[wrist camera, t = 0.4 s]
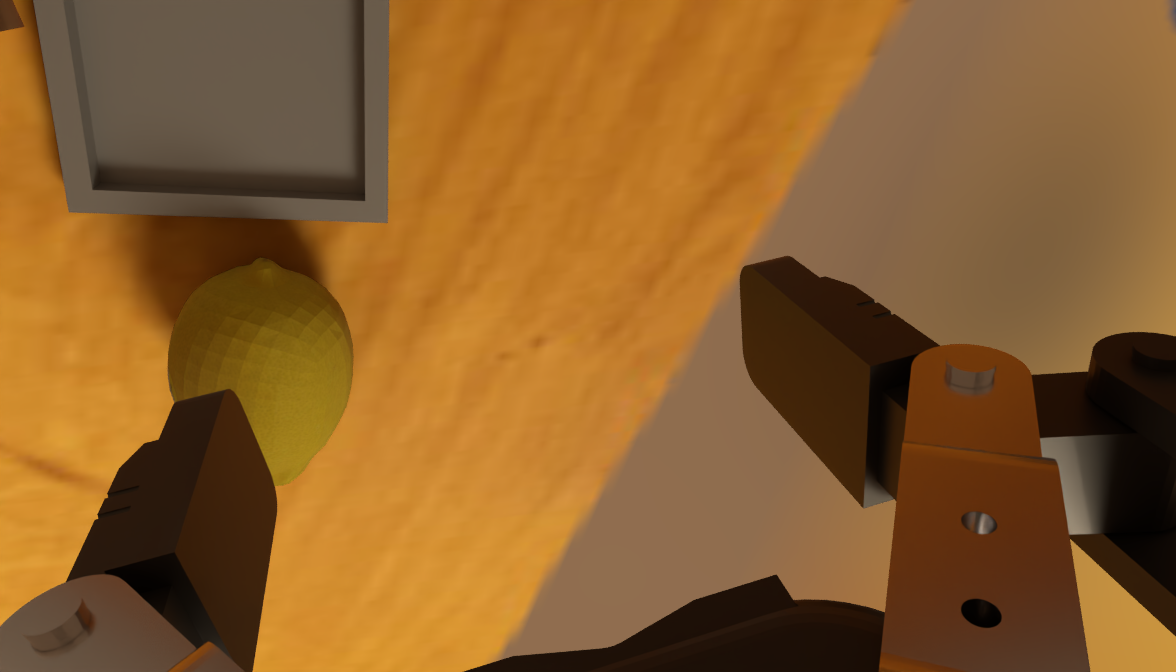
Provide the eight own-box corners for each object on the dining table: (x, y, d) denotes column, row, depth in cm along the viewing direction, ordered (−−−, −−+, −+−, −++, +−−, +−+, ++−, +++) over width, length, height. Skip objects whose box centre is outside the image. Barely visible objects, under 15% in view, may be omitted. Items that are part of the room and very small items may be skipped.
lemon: (196, 216, 35) (155, 279, 28) (370, 246, 38) (371, 311, 31) (178, 417, 39) (138, 516, 32) (337, 432, 42) (332, 526, 35)
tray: (26, -142, 29) (8, -147, 27) (388, -90, 32) (389, -92, 31) (81, 201, 34) (69, 212, 32) (386, 212, 38) (387, 222, 36)
